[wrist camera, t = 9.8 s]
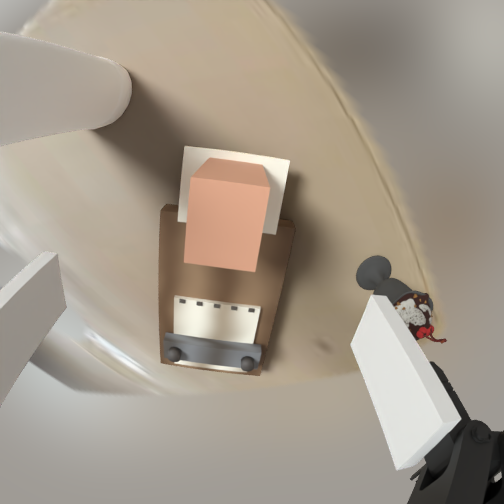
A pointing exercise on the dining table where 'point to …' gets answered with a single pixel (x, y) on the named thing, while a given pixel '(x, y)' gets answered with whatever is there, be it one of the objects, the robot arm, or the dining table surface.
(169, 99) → the dining table surface
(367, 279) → the sundae
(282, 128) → the dining table surface
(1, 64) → the bottle
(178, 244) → the board
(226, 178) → the stub
